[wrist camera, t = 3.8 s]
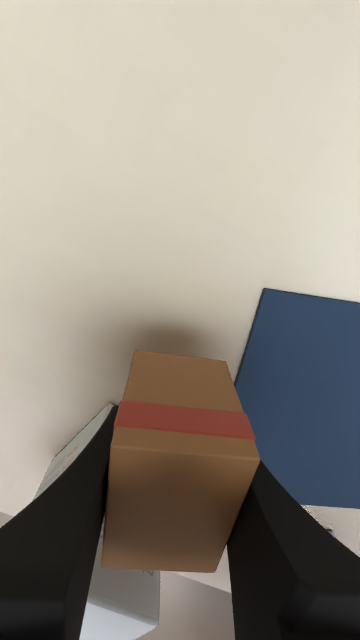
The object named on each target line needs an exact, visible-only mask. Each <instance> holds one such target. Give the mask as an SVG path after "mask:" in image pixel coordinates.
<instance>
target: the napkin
mask: <svg viewBox="0 0 360 640" xmlns="http://www.w3.org/2000/svg"><path fill="white" fill-rule="evenodd" d="M234 386H235V389H236V392H237V395H238V397H239V400H240V403H241V406H242V409H243V411H244V413H245V414H247V417H248V419H249V422H250V425H251V428H252V430H253V433H254V436H255V445H256V448H257V450H258V453H259V456H260V459H261V460H262V462H263V463H264V464H265V466H266V467H267V468H268V470H269V471H270V472H271V473H272V475H273V476H274V477H275V478H276V479H277V481H278V482H279V483H280V484H281V485H282V486H283V487H284V488H285V490H286V491H287V492H288V493H289V494H290V495H291V496H292V497H293V498H294V499H295V500H296V501H297V502H298V503H299V504H301V505H315V506H328V507H342V508H356V509H360V303H356V302H350V301H343V300H337V299H330V298H324V297H317V296H311V295H305V294H298V293H292V292H285V291H279V290H272V289H266V288H264V289H263V293H262V296H261V299H260V303H259V306H258V309H257V312H256V316H255V319H254V322H253V326H252V329H251V332H250V336H249V339H248V342H247V345H246V349H245V352H244V355H243V359H242V362H241V365H240V369H239V372H238V375H237V379H236V382H235V385H234Z"/></svg>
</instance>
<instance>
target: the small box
mask: <svg viewBox="0 0 360 640" xmlns="http://www.w3.org/2000/svg"><path fill="white" fill-rule="evenodd" d="M113 406H115V405H113V404H111V403H108V404H107V405H106V406H105V407H104V408H103V409H102V411H101V412H100V413H99V414H98V415H97V416H96V417H95V418H94V419H93V420H92V421H91V422H90V423H89V424H88V425H87V426H86V427H85V428H84V429H83V430H82V431H81V432H80V433H79V434H78V435H77V436H76V437H75V438H74V439H73V440H72V441H71V442H70V443H69V444H68V445H67V446H66V447H65V448H64V449H63V450H62V451H61V452H60V453H59V454H58V455H57V456H56V457H55V458H54V459H53V460H52V462H51V464H50V466H49V468H48V470H47V472H46V474H45V476H44V478H43V480H42V482H41V484H40V487H39V489H38V491H37V493H36V495H35V497H34V499H33V501H34V500H35V499H36V498H37V497H38V496H39V495H40V494H41V493H42V492H43V491H45V490H46V489H47V488H48V487H49V486H50V485H51V484H52V483H53V482H54V481H55V480H56V479H57V478H58V477H59V476H60V475H61V474H62V473H63V472H64V471H65V470H66V469H67V467H68V466H69V465H70V464H71V463H72V462H73V461H74V460H75V459H76V457H77V456H78V455H79V454H80V453H81V451H82V450H83V449H84V448H85V447H86V445H87V444H88V443H89V442H90V440H91V439H92V438H93V436H94V435H95V433H96V432H97V431H98V429H99V428H100V426H101V425H102V423H103V422H104V420H105V419H106V417H107V416H108V414H109V412H110V410H111V408H112V407H113ZM104 521H105V515H104V519H103V523H102V528H101V533H100V538H99V542H98V547H97V552H96V557H95V562H94V567H93V572H92V577H91V582H90V587H89V592H88V597H87V603H86V608H85V613H84V618H83V623H82V628H81V633H80V639H79V640H134V639H136V638H138V637H140V636H142V635H143V634H145V633H147V632H149V631H151V630H152V629H154V628H156V627H157V626H158V624H159V606H160V570H140V569H119V568H102V567H101V557H102V545H103V533H104Z"/></svg>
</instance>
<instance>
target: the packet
mask: <svg viewBox="0 0 360 640" xmlns="http://www.w3.org/2000/svg"><path fill="white" fill-rule="evenodd" d="M259 462H260V456H259V453H258V450H257V448H256V445H255V436H254V433H253V430H252V428H251V425H250V422H249V419H248V417H247V414H245V413H244V411H243V409H242V406H241V403H240V400H239V397H238V395H237V392H236V389H235V386H234V383H233V381H232V378H231V375H230V372H229V370H228V367H227V364H226V362H225V361H219V360H211V359H203V358H196V357H188V356H180V355H172V354H164V353H156V352H148V351H140V350H136V351H135V352H134V356H133V360H132V364H131V368H130V372H129V376H128V380H127V384H126V387H125V391H124V395H123V399H122V401H121V402H120V404H119V408H118V412H117V416H116V419H115V423H114V431H113V438H112V442H111V448H110V460H109V472H108V484H107V497H106V509H105V521H104V533H103V545H102V557H101V567H102V568H119V569H140V570H161V571H182V572H203V573H214V572H215V571H216V569H217V566H218V564H219V561H220V559H221V556H222V554H223V551H224V549H225V546H226V544H227V541H228V539H229V536H230V534H231V531H232V529H233V526H234V524H235V521H236V519H237V516H238V514H239V512H240V509H241V507H242V504H243V502H244V499H245V497H246V494H247V492H248V489H249V487H250V484H251V482H252V479H253V477H254V474H255V472H256V469H257V467H258V464H259Z"/></svg>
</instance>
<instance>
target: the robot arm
mask: <svg viewBox="0 0 360 640" xmlns="http://www.w3.org/2000/svg"><path fill="white" fill-rule="evenodd" d="M118 408H119V406H113V407H112V408H111V410H110V412H109V414H108V416H107V417H106V419H105V420H104V422H103V423H102V425H101V426H100V428H99V429H98V431H97V432H96V433H95V435H94V436H93V438H92V439H91V440H90V442H89V443H88V444H87V445H86V447H85V448H84V449H83V450H82V451H81V453H80V454H79V455H78V456H77V457H76V459H75V460H74V461H73V462H72V463H71V464H70V465H69V466H68V467H67V469H66V470H65V471H64V472H63V473H62V474H61V475H60V476H59V477H58V478H57V479H56V480H55V481H54V482H53V483H52V484H51V485H50V486H49V487H48V488H47V489H46V490H45V491H43V492H42V493H41V494H40V495H39V496H38V497H37V498H36V499H35V500H34V501H32V502H31V503H30V504H29V505H28V506H26V507H25V508H24V509H23V510H22V511H21V512H19V513H18V514H17V515H16V516H15V517H14V518H12V519H11V520H10V521H9V522H8V523H6V524H5V525H4V526H2V527H1V528H0V640H79V639H80V633H81V628H82V623H83V618H84V613H85V608H86V603H87V597H88V592H89V587H90V582H91V577H92V572H93V567H94V562H95V557H96V552H97V547H98V542H99V538H100V533H101V528H102V523H103V519H104V515H105V509H106V497H107V484H108V472H109V460H110V448H111V442H112V438H113V431H114V423H115V419H116V416H117V412H118ZM227 551H228V560H229V571H230V581H231V592H232V604H233V615H234V629H235V640H360V557H358V556H357V555H356V554H355V553H353V552H352V551H351V550H350V549H348V548H347V547H346V546H344V545H343V544H342V543H341V542H340V541H338V540H337V539H336V536H335V534H334V532H330V531H327V530H326V529H325V528H324V527H323V526H321V525H320V524H319V523H318V522H317V521H316V520H315V519H314V518H313V517H312V516H311V515H310V514H309V513H308V512H307V511H306V510H305V509H304V508H303V507H302V506H301V505H299V503H298V502H297V501H296V500H295V499H294V498H293V497H292V496H291V495H290V494H289V493H288V492H287V491H286V490H285V488H284V487H283V486H282V485H281V484H280V483H279V482H278V481H277V479H276V478H275V477H274V476H273V475H272V473H271V472H270V471H269V470H268V468H267V467H266V466H265V464H264V463H263V462H262V460H261V459H260V462H259V464H258V467H257V469H256V472H255V474H254V477H253V479H252V482H251V484H250V487H249V489H248V492H247V494H246V497H245V499H244V502H243V504H242V507H241V509H240V512H239V514H238V516H237V519H236V521H235V524H234V526H233V529H232V531H231V534H230V536H229V539H228V541H227Z"/></svg>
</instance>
